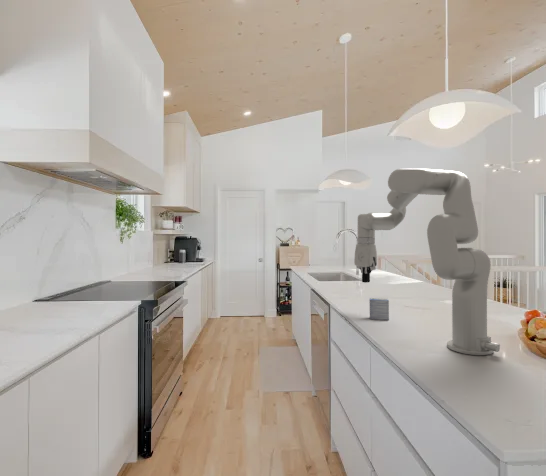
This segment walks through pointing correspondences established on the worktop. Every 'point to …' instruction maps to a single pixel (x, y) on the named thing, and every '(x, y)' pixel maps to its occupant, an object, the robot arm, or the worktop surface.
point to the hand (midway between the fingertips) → (365, 282)
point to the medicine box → (379, 308)
